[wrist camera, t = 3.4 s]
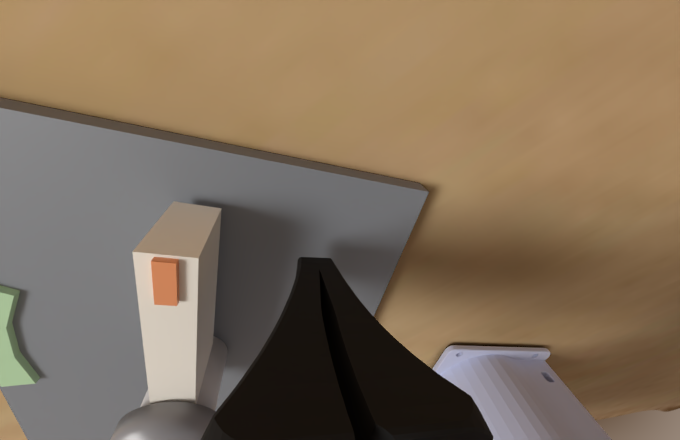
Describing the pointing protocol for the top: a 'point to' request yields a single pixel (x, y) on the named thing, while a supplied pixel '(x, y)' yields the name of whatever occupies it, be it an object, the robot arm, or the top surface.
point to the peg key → (178, 326)
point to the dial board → (127, 232)
